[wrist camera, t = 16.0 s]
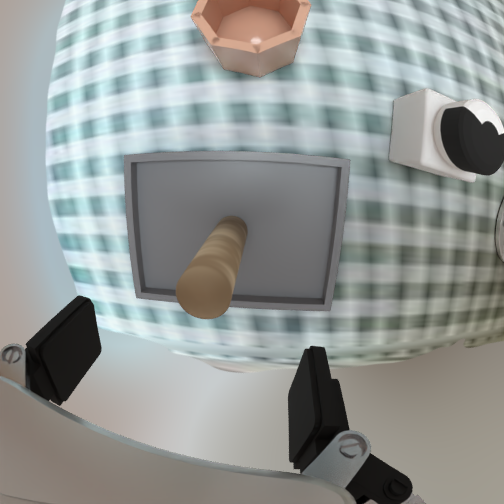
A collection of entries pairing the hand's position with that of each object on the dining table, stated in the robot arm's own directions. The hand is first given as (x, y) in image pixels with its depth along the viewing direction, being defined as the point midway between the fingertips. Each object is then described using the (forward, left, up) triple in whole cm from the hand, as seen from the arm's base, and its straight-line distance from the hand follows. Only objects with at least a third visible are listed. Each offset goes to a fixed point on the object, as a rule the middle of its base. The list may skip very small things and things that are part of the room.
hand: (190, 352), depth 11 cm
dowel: (0, 0, -18) cm, 18 cm away
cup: (+17, -12, -19) cm, 28 cm away
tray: (0, 0, -19) cm, 19 cm away
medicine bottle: (0, -23, -19) cm, 30 cm away
